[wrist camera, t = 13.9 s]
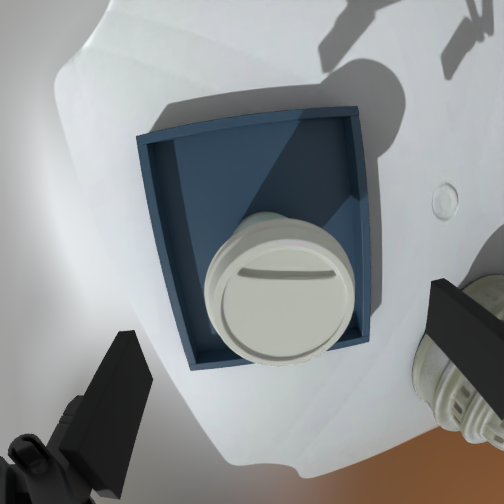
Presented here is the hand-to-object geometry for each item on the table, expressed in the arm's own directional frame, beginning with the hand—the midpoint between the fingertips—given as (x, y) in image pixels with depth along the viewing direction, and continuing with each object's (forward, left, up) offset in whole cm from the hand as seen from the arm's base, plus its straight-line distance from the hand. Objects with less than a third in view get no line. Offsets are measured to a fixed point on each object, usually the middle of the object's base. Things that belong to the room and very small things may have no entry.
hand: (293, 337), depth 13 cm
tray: (0, 0, -16) cm, 16 cm away
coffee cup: (0, 0, -15) cm, 15 cm away
